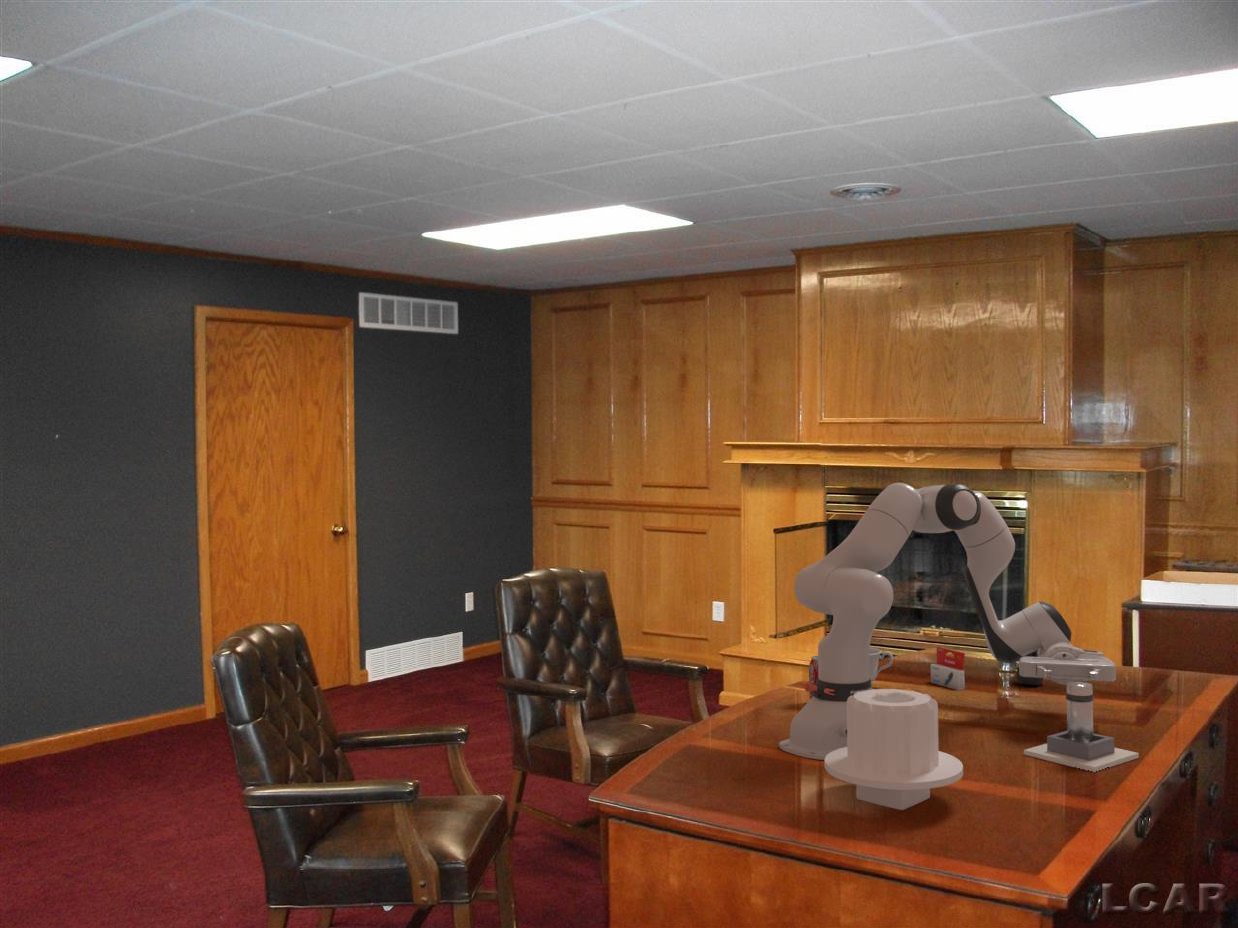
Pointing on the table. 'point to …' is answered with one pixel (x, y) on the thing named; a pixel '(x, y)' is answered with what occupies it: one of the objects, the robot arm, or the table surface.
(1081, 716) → the capped metal cylinder
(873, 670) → the teacup
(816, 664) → the soda can
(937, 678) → the ink cartridge box
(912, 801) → the flanged gear
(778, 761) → the table surface
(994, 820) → the table surface
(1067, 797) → the table surface
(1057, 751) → the socket mount
